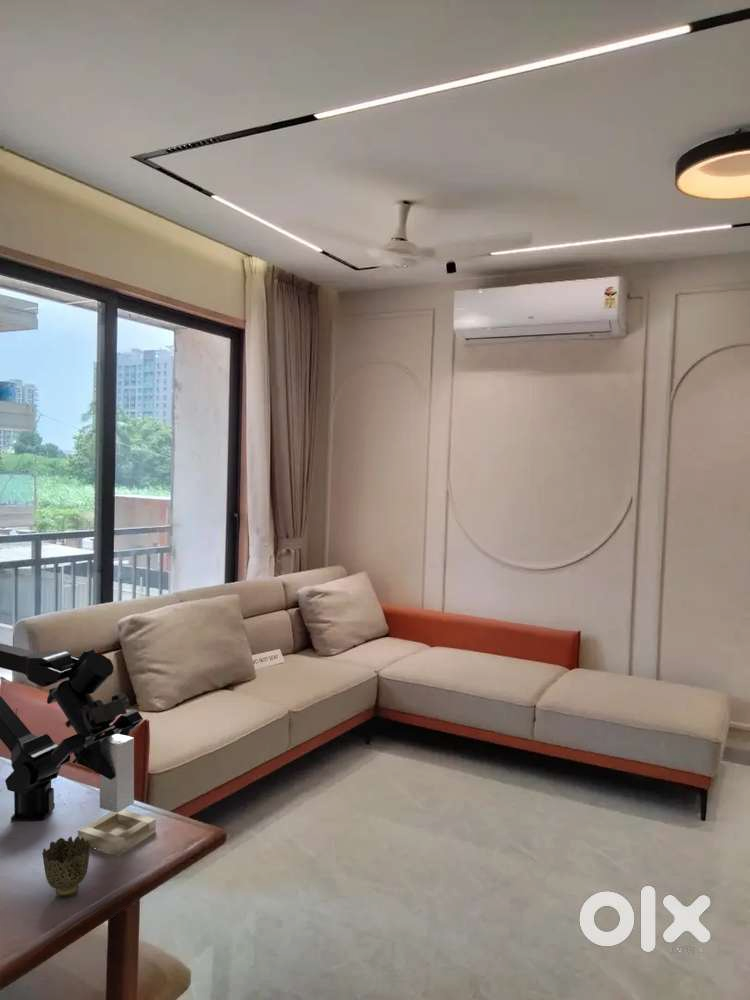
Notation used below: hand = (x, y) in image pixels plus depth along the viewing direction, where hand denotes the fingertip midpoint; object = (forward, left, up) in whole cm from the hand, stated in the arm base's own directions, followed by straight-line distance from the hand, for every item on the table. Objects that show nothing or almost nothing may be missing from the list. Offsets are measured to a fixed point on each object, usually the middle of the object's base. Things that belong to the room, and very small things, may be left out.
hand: (122, 773), depth 140 cm
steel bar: (-1, +1, -7) cm, 7 cm away
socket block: (-1, +1, -13) cm, 13 cm away
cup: (-4, -17, -13) cm, 22 cm away
